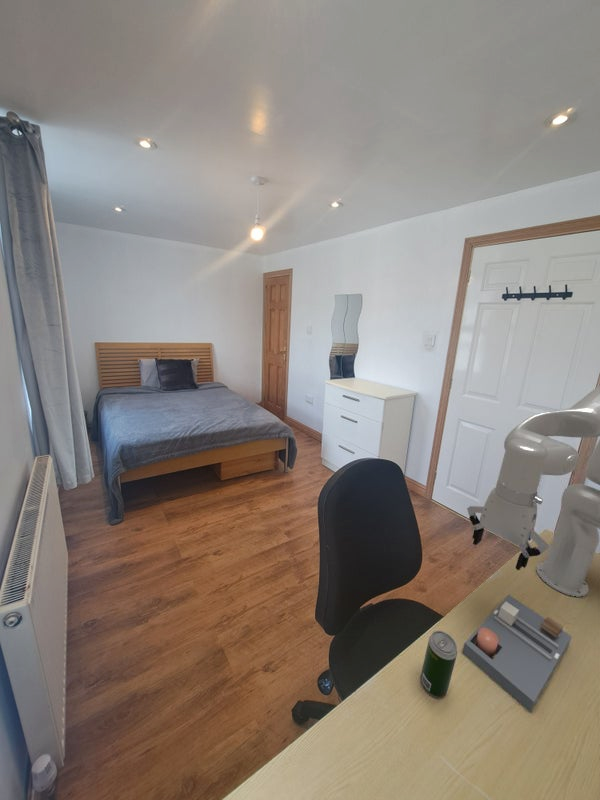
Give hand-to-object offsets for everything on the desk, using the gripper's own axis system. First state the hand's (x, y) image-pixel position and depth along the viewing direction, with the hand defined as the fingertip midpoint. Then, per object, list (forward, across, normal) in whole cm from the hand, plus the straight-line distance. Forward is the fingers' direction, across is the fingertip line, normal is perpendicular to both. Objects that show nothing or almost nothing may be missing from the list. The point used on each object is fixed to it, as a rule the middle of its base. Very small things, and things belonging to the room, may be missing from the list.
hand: (497, 554), depth 78 cm
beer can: (+21, -1, +24) cm, 32 cm away
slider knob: (+17, -5, -3) cm, 18 cm away
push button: (+19, -5, +8) cm, 21 cm away
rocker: (+16, -13, -8) cm, 22 cm away
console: (+20, -9, 0) cm, 22 cm away
